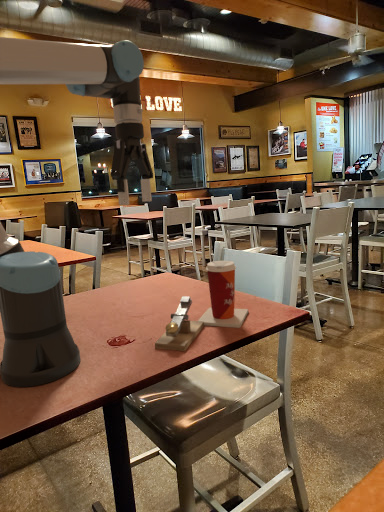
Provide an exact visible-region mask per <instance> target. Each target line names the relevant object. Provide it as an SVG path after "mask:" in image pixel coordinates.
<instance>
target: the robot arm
mask: <svg viewBox="0 0 384 512" xmlns="http://www.w3.org/2000/svg"><path fill="white" fill-rule="evenodd" d="M144 66H145V62H144V56H143V54H142V52H141V50H140V48H139V46H138V45H137V44H135V43H134V42H133V41H130V40H127V39H125V40H120V41H117V42H115V43H114V44H112V45H107V44H88V43H76V42H75V43H74V42H66V41H65V42H63V41H53V40H52V41H51V40H44V39H43V40H40V39H28V38H16V37H6V36H0V85H65V87H66V88H67V91H68V92H69V93H71V94H72V95H77V96H81V97H91V98H99V99H109V100H111V101H112V108H113V109H112V110H113V119H114V123H115V126H114V129H115V138H116V139H117V140H114V141H113V157H112V162H111V168H110V169H111V170H110V177H111V178H112V181H116V187H117V196H118V205H119V206H127V205H130V197H129V185H128V179H126V176H127V174H128V170H129V166H130V163H131V161H132V162H134V164H135V166H136V169H137V170H138V172H139V175H140V177H141V179H140V188H141V199H142V200H141V201H142V202H152V187H151V179H154V172H153V168H152V166H151V162H150V158H149V155H148V150H147V145H146V143H141V142H140V141H141V140H142V139H144V138H145V132H144V130H145V129H144V125H143V123H142V122H143V113H144V112H143V111H144V110H143V108H142V98H141V97H142V96H141V85H140V84H141V83H140V76H141V75H142V73H143V71H144ZM61 276H62V275H61V270H60V267H59V264H58V261H57V258H56V257H55V256H54V255H52V254H51V253H47V252H43V251H38V252H37V251H25V249H24V248H23V246H22V244H21V242H20V240H19V239H18V238H15V237H13V236H10V235H8V233H7V232H6V230H5V227H4V226H3V223H2V222H1V221H0V319H1V325H2V330H3V335H4V342H3V344H4V345H3V350H2V360H1V362H0V376H1V381H2V382H3V383H4V384H5V385H8V386H10V387H16V388H17V387H18V388H28V387H36V386H41V385H45V384H48V383H51V382H54V381H57V380H60V379H62V378H63V377H65V376H67V375H69V374H71V373H72V372H73V371H75V370H76V368H78V367H79V364H80V363H81V355H80V354H81V353H80V348H79V346H78V345H77V343H75V340H74V338H73V335H72V334H71V332H70V329H69V328H68V325H67V316H66V310H65V302H64V293H63V288H62V280H61Z"/></svg>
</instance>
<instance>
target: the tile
mask: <svg viewBox="0 0 384 512" xmlns="http://www.w3.org/2000/svg"><path fill="white" fill-rule="evenodd" d="M248 314H249V309H248V308H234V316H233V317H232V318H229V319H216V318H214V317H213V314H212V306H211V307H208V308H207V309H206V310H205V312H204V313H203V314H202V315H201V316H200V317H199V319H198V320H197V321H203V322H204V326H209V327H224V328H235V329H239V328H241V327H242V325H243V324H244V321H245V320H246V317H247V315H248Z"/></svg>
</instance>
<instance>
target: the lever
mask: <svg viewBox="0 0 384 512" xmlns="http://www.w3.org/2000/svg"><path fill="white" fill-rule="evenodd" d="M192 304H193V300H192V298H191V296H185V295H182V297H181V299H180V300H179V305H178V307H177V309H176V311H175V312H174V313H171V314H170V319H171V320H172V321H171V323H170V322H169V323H168V324H166V326H165V332H166V336H171V337H177V335H178V333H179V331H180V328H181V326H182V324H183V322H184V320H189V316H190V315H189V314H188V313H189V310H190V308H191V306H192Z"/></svg>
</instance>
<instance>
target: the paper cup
mask: <svg viewBox="0 0 384 512" xmlns="http://www.w3.org/2000/svg"><path fill="white" fill-rule="evenodd" d="M206 265H207V266H206V267H205V271H207V279H208V287H209V296H210V304H211V305H210V306H211V307H212V314H213V317H214V318H216V319H229V318H232V317H233V316H234V309H235V301H236V300H235V299H236V298H235V296H236V294H235V293H236V291H235V289H236V287H235V286H236V285H235V283H236V269H237V267H236V264H235V262H234V261H233V260H232V261H231V260H214V261H210V262H208V263H207V264H206Z"/></svg>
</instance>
